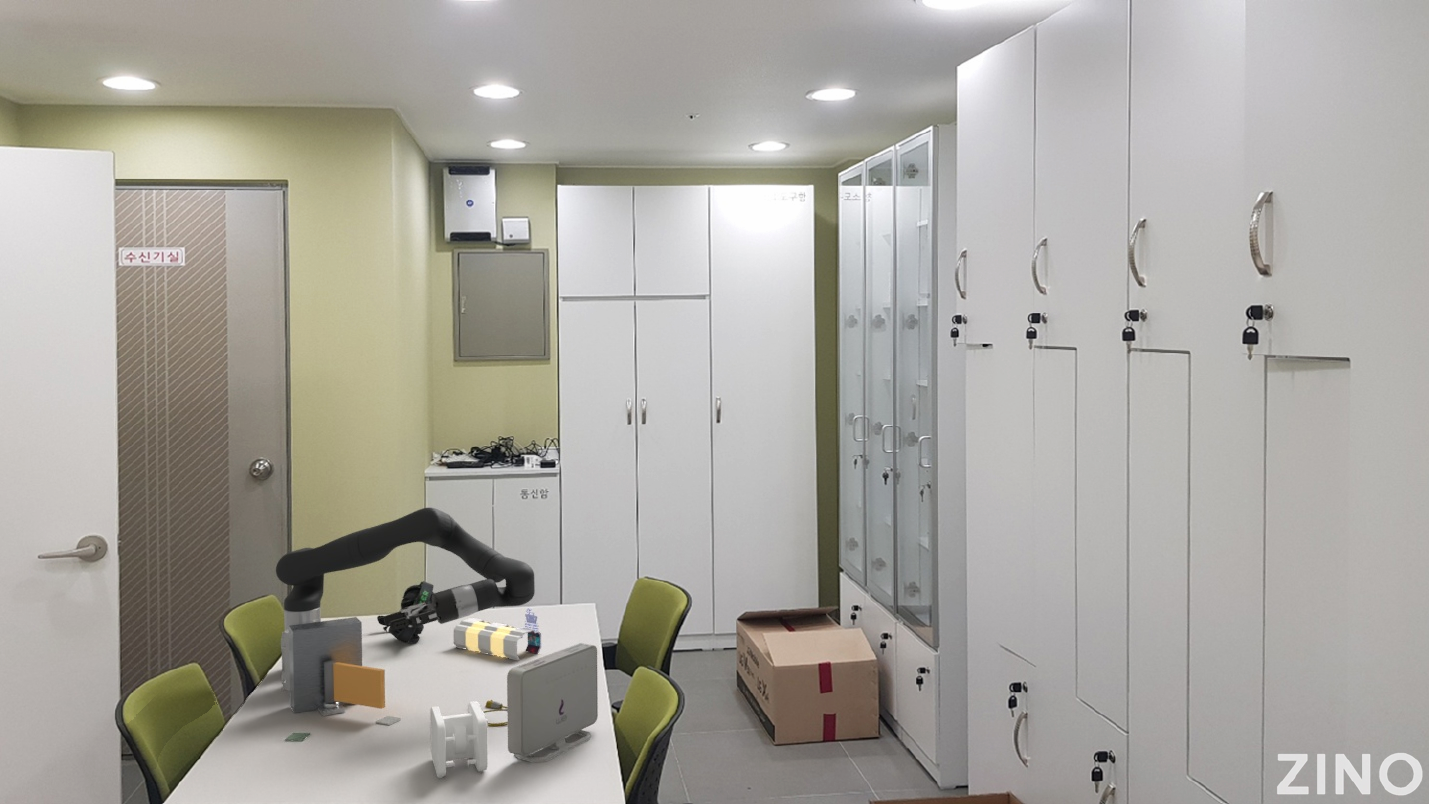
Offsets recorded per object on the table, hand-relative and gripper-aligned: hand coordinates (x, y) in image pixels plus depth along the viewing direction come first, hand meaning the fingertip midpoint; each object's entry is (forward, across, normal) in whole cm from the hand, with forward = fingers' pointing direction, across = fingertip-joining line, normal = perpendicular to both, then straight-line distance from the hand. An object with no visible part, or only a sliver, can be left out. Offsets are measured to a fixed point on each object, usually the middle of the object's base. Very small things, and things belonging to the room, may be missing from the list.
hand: (387, 623), depth 243 cm
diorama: (-34, -48, +27) cm, 65 cm away
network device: (-24, +30, +31) cm, 50 cm away
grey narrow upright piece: (+16, -36, +18) cm, 44 cm away
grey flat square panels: (+15, -11, +20) cm, 27 cm away
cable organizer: (-4, +32, +27) cm, 42 cm away
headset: (-12, -71, +21) cm, 75 cm away
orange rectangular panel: (+10, -9, +18) cm, 23 cm away
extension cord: (-19, +6, +28) cm, 34 cm away
